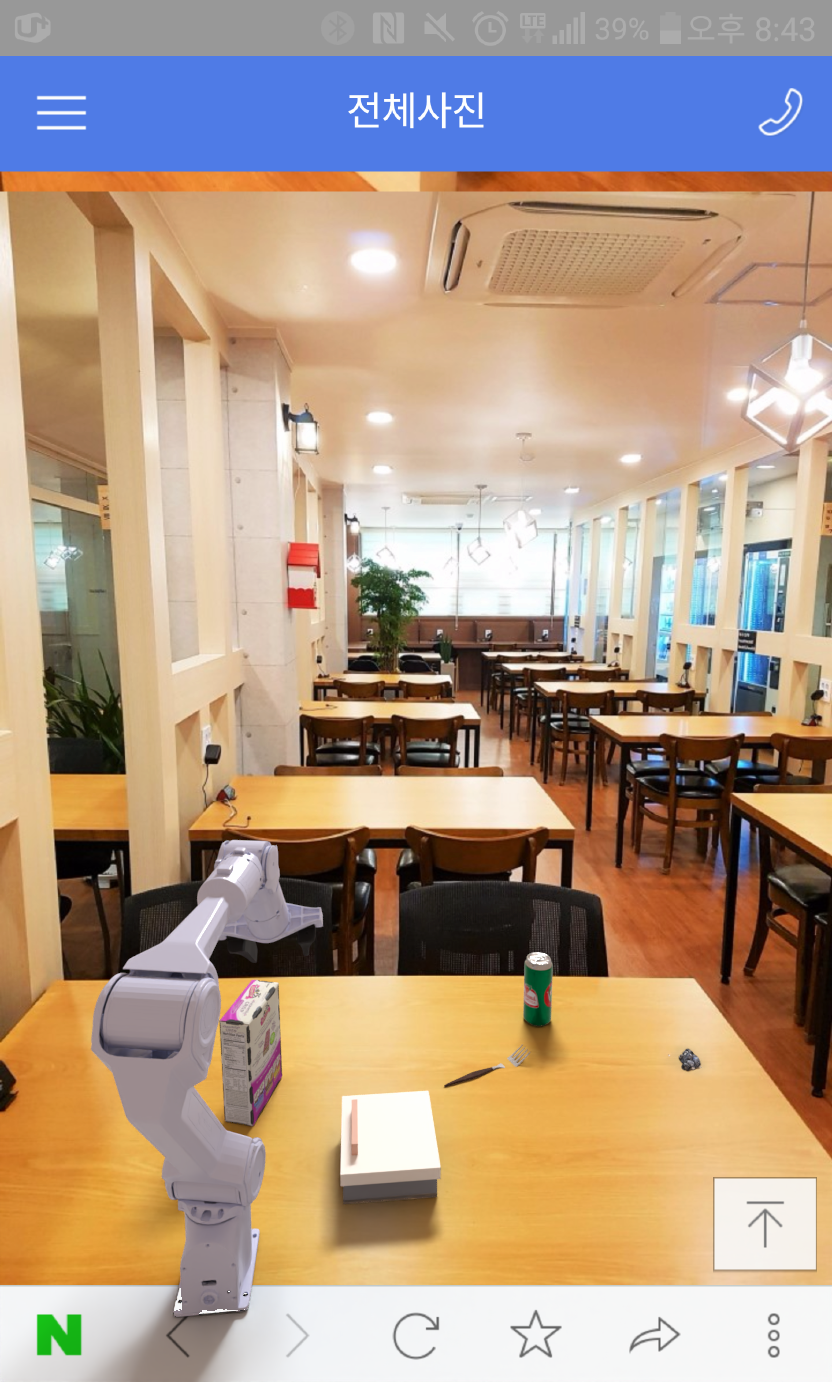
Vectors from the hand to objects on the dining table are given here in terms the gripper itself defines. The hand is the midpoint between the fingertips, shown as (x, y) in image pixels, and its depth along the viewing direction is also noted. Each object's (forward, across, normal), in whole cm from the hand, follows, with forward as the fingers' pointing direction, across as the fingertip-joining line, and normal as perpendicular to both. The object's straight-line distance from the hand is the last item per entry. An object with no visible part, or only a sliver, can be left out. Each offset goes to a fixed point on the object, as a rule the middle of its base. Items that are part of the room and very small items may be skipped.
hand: (280, 952), depth 101 cm
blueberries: (+30, -63, +13) cm, 71 cm away
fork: (+26, -29, +11) cm, 41 cm away
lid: (+12, -13, +23) cm, 29 cm away
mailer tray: (+15, -13, +24) cm, 31 cm away
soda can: (+35, -41, +1) cm, 54 cm away
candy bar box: (+21, +7, +12) cm, 25 cm away
